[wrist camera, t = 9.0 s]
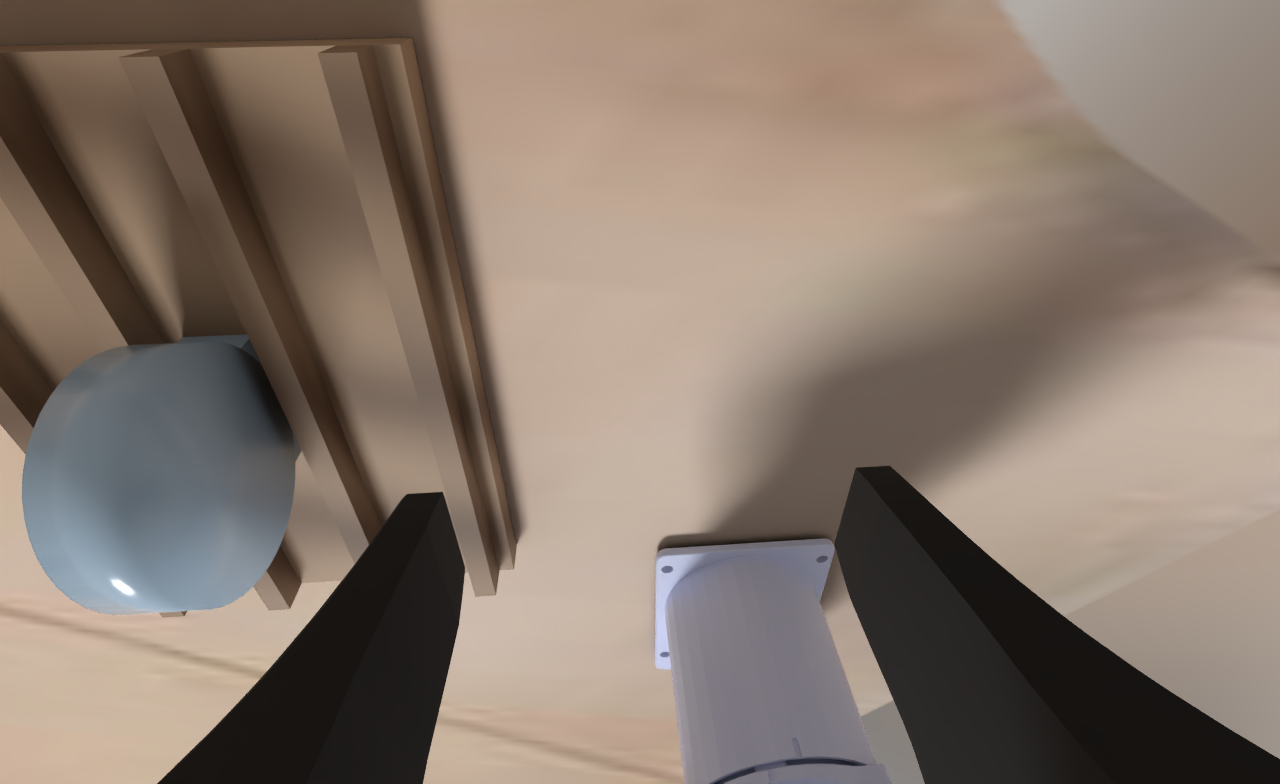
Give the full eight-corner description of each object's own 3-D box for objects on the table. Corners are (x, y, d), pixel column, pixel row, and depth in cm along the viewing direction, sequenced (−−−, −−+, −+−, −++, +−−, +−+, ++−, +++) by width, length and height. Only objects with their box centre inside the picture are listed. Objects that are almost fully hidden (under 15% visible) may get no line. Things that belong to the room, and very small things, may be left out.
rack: (516, 546, 26) (510, 594, 24) (180, 567, 25) (146, 618, 23) (412, 37, 15) (385, 51, 13) (-206, 50, 14) (-333, 67, 12)
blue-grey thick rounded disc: (317, 473, 21) (218, 665, 15) (258, 477, 21) (138, 671, 15) (234, 294, 17) (59, 468, 11) (161, 297, 17) (-54, 473, 11)
